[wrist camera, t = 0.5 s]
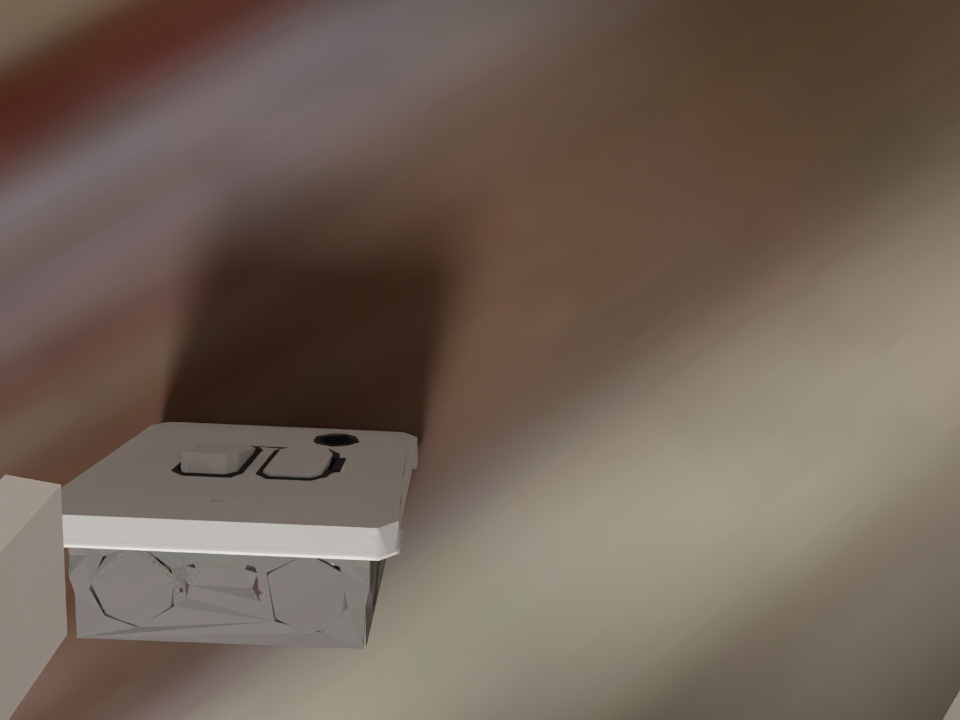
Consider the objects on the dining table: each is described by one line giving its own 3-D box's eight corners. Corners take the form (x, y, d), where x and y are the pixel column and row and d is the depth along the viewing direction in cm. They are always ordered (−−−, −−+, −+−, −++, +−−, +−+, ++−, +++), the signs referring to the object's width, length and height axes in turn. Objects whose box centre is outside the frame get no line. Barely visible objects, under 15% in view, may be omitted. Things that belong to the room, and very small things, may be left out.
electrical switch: (421, 431, 31) (403, 459, 21) (414, 576, 30) (393, 667, 21) (158, 419, 30) (24, 442, 21) (151, 564, 30) (13, 651, 21)
